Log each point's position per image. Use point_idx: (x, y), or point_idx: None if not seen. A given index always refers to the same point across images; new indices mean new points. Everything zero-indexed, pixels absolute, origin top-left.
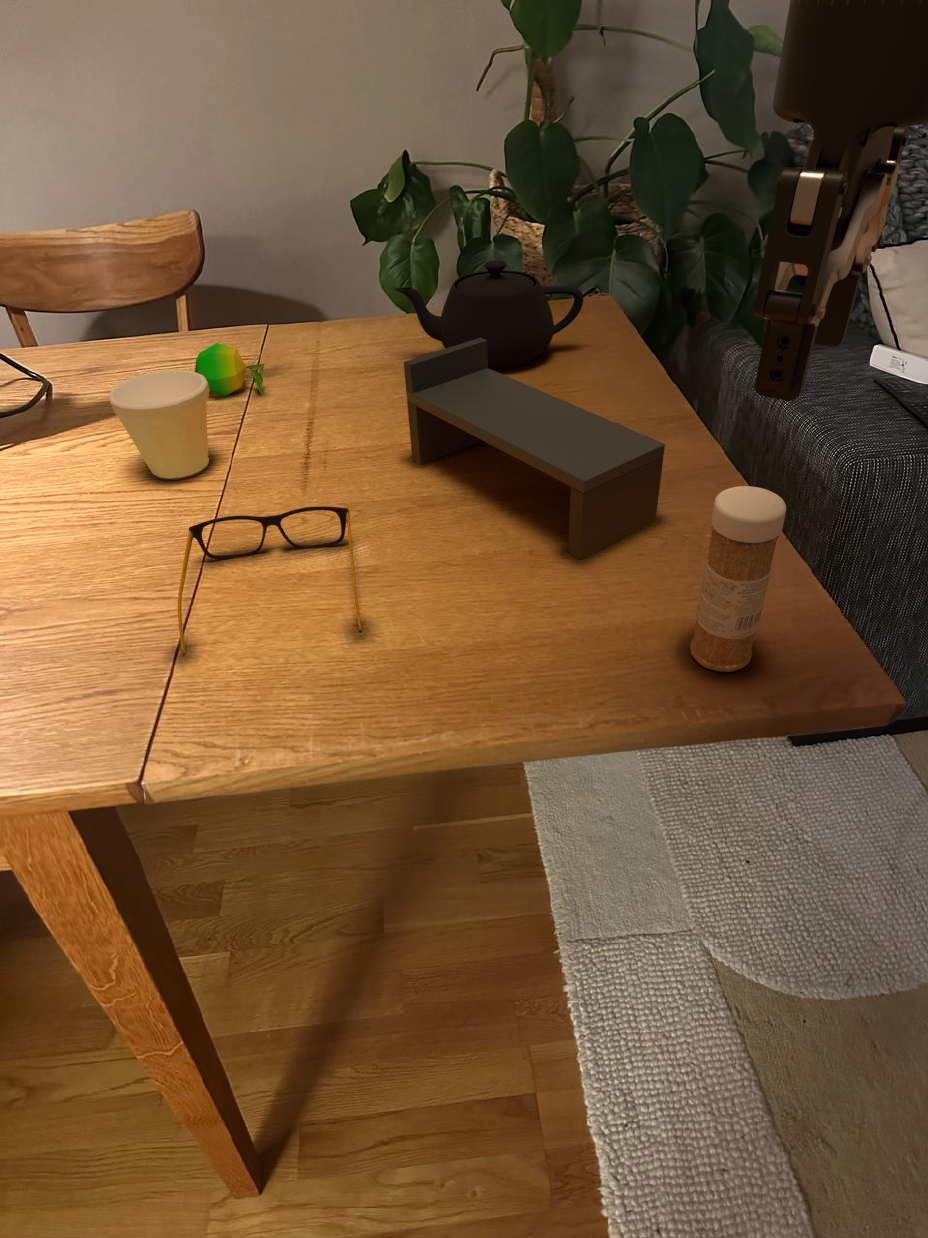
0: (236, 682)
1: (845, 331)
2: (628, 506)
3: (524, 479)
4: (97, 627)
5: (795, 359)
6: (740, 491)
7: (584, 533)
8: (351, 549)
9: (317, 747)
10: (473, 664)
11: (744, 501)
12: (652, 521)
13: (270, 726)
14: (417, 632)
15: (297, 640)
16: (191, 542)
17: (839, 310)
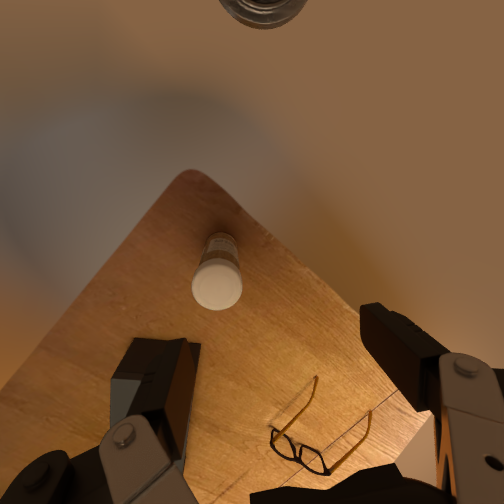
0: (369, 384)
1: (173, 346)
2: (156, 354)
3: None
4: (376, 443)
5: (427, 334)
6: (209, 300)
7: (196, 355)
8: (295, 420)
9: None
10: (303, 327)
11: (220, 291)
12: (137, 338)
13: None
14: (301, 359)
15: (336, 388)
16: (333, 466)
17: (179, 376)
